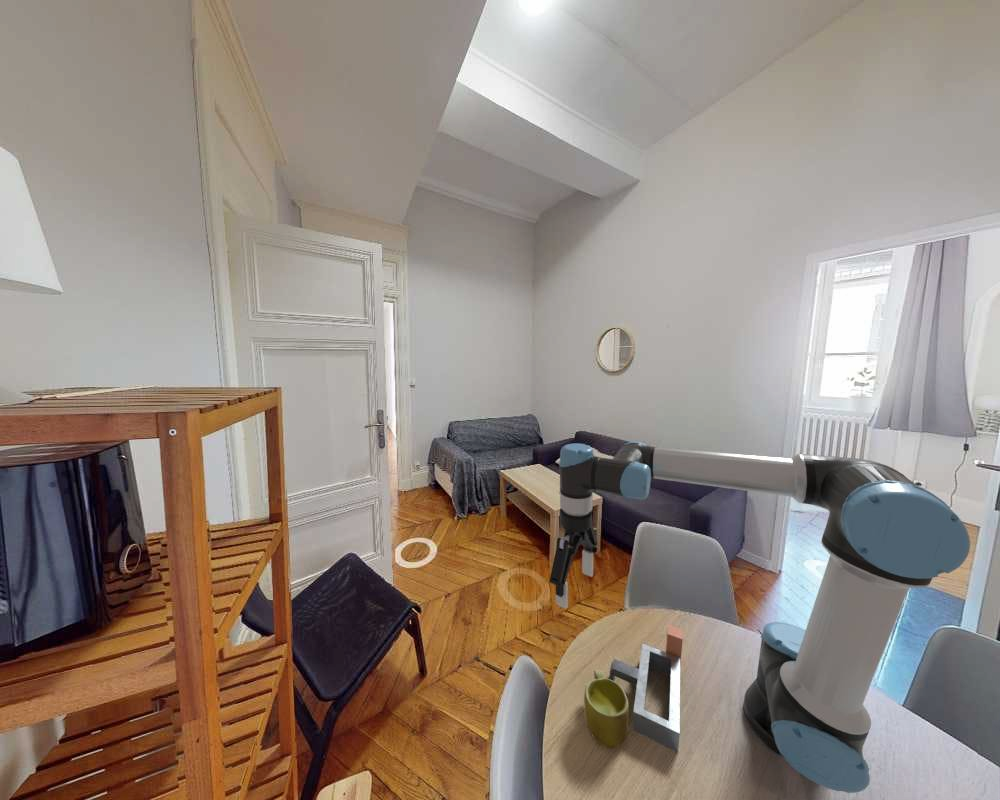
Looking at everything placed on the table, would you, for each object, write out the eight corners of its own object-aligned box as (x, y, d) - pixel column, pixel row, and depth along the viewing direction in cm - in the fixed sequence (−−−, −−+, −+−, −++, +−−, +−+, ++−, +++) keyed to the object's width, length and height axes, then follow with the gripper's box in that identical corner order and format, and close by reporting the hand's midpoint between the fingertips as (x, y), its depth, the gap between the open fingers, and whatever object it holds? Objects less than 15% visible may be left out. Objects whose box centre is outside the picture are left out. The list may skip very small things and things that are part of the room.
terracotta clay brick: (680, 661, 89) (682, 629, 88) (679, 672, 86) (682, 639, 85) (665, 655, 91) (667, 624, 90) (665, 666, 88) (667, 633, 86)
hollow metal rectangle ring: (678, 674, 86) (680, 657, 85) (678, 752, 70) (679, 733, 69) (616, 649, 93) (617, 633, 92) (602, 715, 77) (603, 697, 76)
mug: (641, 757, 67) (625, 705, 68) (591, 758, 70) (577, 709, 71) (633, 705, 79) (620, 662, 80) (591, 708, 82) (579, 666, 83)
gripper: (584, 487, 90) (584, 557, 94) (533, 526, 71) (534, 613, 75) (611, 494, 85) (609, 568, 89) (563, 538, 67) (563, 630, 70)
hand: (575, 589), depth 82 cm, fingers open, 13 cm apart
